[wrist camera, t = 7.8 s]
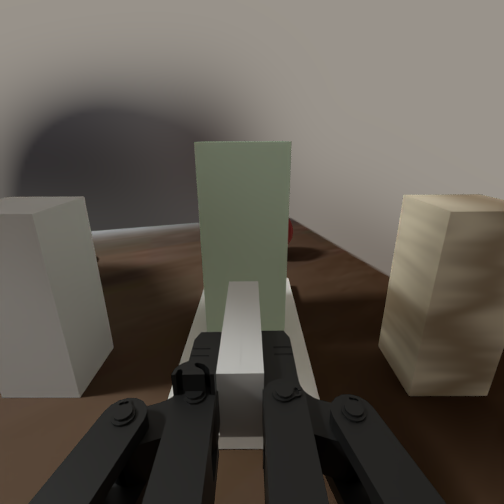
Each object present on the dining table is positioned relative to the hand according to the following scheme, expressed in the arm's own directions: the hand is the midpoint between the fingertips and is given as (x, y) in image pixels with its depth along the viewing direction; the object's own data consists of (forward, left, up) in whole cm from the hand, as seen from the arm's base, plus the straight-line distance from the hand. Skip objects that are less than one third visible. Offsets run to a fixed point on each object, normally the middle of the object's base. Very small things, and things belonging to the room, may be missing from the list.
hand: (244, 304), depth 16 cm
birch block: (+3, +13, -7) cm, 15 cm away
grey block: (-10, -10, -7) cm, 15 cm away
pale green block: (-8, +4, -6) cm, 11 cm away
